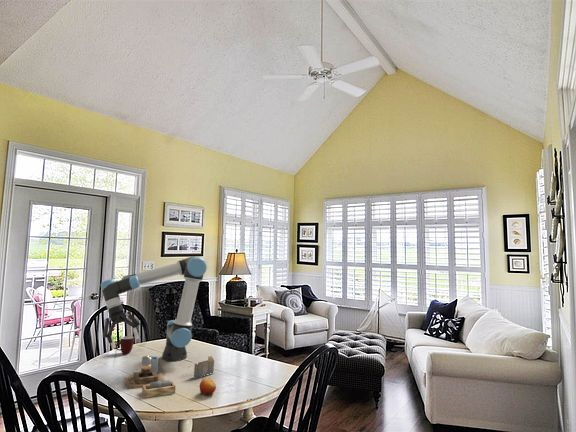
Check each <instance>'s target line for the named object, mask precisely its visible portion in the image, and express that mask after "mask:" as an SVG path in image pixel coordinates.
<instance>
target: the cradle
mask: <svg viewBox="0 0 576 432" xmlns="http://www.w3.org/2000/svg"><path fill="white" fill-rule="evenodd" d="M132 375H133V376H127V377H124V381H125V385H126V390H132V389H137V388H143V385H148V384H150V382H157V381H165V380H166V379H165V378H164V376H163V374H162V372H159V373H158V372H156V371H155V370H152V371H151V372H150V376H148V377H141V371H136V372H133V374H132Z"/></svg>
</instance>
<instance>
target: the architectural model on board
mask: <svg viewBox="0 0 576 432" xmlns="http://www.w3.org/2000/svg"><path fill="white" fill-rule="evenodd" d="M207 358H208V359H207V360H203V361H200V362H198V363H194V369H193V371H194V372H193V378H194V377H196V378H195V379H199V378H198V377H200V378H202V377H201V376H204V375H207V374H210V373H213V372H214V369H215V359H214V358H213V356H212V355H210V356H207ZM213 374H214V373H213ZM210 375H211V374H210ZM207 376H208V375H207ZM204 377H205V376H204Z"/></svg>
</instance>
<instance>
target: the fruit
mask: <svg viewBox="0 0 576 432" xmlns="http://www.w3.org/2000/svg"><path fill="white" fill-rule="evenodd" d="M216 385H217V384H216V382H215V381H214V380H213V379H212V378H205V377H204V378H203V379H202V380H201V381H200V384H199V392H200V394H199V396H201V395H205V396H211V395H213V393H215V391H216V389H217V386H216Z"/></svg>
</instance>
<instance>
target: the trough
mask: <svg viewBox="0 0 576 432" xmlns="http://www.w3.org/2000/svg"><path fill="white" fill-rule="evenodd" d="M164 380H165V381H157V382H150V384H148V385H143V387H141V388H142V389H141V393H142V396H143V398H151V397H158V396H165V395H172V394H176V384H175V383H174V381H173V380H172V381H171V380H170V379H164Z"/></svg>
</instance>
